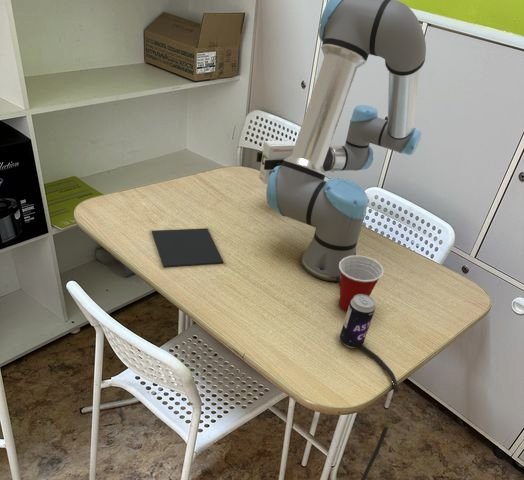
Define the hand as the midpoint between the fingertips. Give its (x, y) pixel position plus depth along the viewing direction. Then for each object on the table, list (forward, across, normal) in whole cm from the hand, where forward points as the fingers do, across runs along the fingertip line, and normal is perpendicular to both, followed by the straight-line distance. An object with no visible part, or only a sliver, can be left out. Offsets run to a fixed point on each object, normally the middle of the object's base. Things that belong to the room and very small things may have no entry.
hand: (261, 161), depth 156 cm
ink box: (-5, 0, -7) cm, 8 cm away
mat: (+28, -19, -16) cm, 38 cm away
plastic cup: (-4, -54, -16) cm, 56 cm away
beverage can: (+3, -66, -16) cm, 68 cm away
